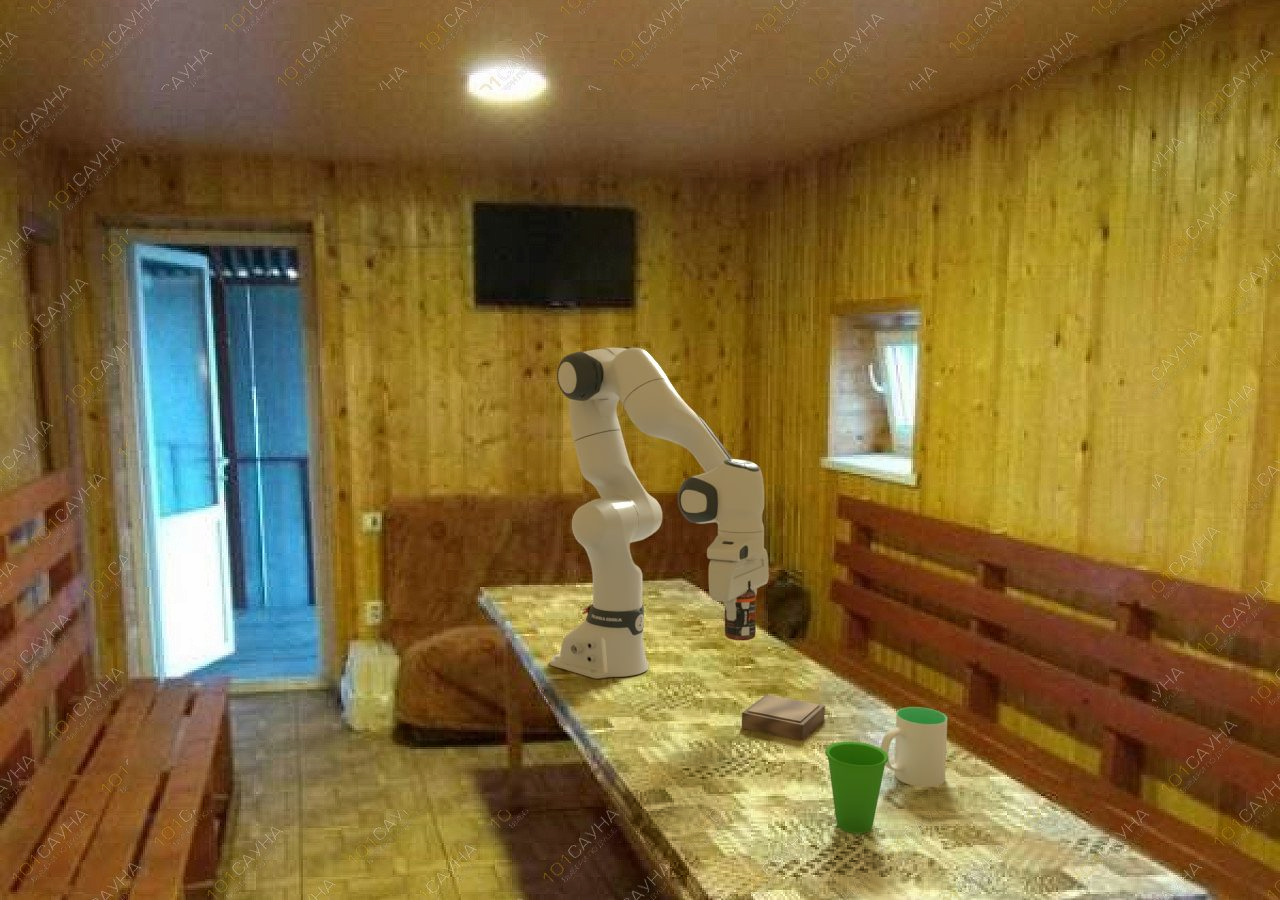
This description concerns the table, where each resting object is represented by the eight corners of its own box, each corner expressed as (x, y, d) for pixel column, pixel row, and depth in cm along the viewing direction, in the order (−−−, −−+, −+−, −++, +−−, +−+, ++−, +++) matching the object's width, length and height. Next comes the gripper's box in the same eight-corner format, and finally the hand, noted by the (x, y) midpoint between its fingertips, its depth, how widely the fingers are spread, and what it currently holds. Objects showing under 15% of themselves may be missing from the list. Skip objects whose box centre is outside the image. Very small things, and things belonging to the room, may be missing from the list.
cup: (816, 812, 144) (818, 741, 143) (874, 810, 145) (876, 740, 144) (832, 841, 135) (835, 766, 134) (895, 839, 136) (897, 764, 135)
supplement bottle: (754, 642, 180) (754, 583, 179) (723, 640, 181) (723, 582, 181) (756, 633, 186) (756, 576, 185) (726, 632, 187) (726, 576, 186)
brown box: (741, 728, 178) (742, 711, 178) (766, 709, 189) (766, 692, 189) (802, 741, 172) (802, 723, 172) (824, 720, 183) (824, 704, 183)
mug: (902, 796, 150) (904, 731, 150) (866, 777, 157) (868, 715, 157) (955, 780, 156) (958, 719, 156) (918, 763, 163) (921, 704, 162)
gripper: (747, 535, 193) (747, 602, 194) (702, 550, 175) (702, 624, 176) (776, 538, 190) (776, 606, 191) (733, 553, 172) (733, 629, 173)
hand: (740, 615), depth 183 cm, fingers closed on supplement bottle, 6 cm apart
